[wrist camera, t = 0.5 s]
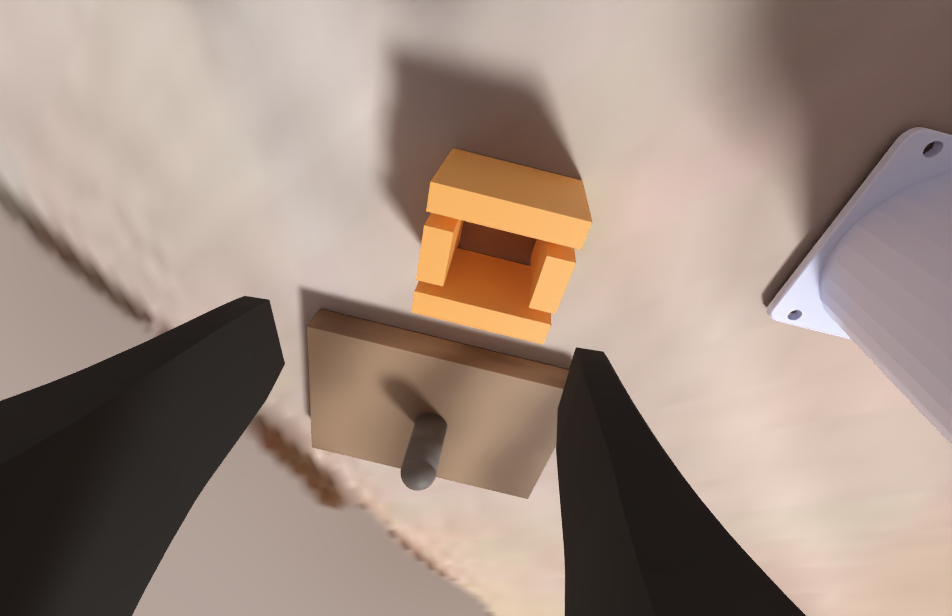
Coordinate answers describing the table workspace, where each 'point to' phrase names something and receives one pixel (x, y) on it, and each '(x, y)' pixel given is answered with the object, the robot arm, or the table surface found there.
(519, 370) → the keeper base
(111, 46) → the table surface
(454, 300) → the orange hollow frame block
